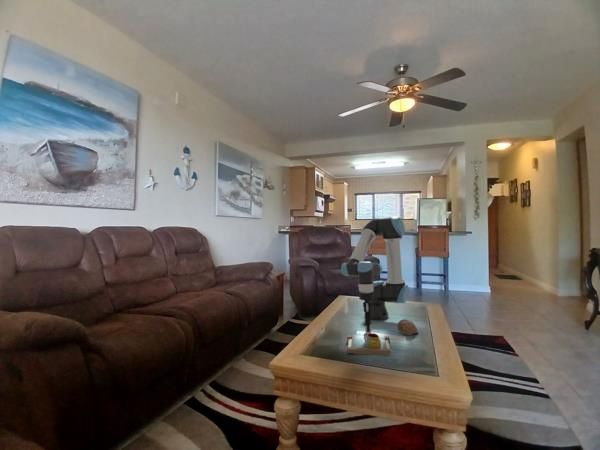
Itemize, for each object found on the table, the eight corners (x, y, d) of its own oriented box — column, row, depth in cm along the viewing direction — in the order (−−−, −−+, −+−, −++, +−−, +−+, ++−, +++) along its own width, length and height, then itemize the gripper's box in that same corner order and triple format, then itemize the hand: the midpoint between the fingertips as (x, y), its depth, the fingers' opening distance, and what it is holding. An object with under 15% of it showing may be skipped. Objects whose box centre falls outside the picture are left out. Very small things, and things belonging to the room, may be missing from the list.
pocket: (347, 341, 154) (347, 335, 154) (389, 343, 150) (389, 336, 150) (345, 353, 139) (345, 346, 139) (392, 355, 135) (392, 348, 135)
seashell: (422, 335, 157) (410, 318, 158) (407, 344, 158) (396, 327, 160) (417, 328, 168) (407, 313, 169) (403, 337, 169) (393, 321, 170)
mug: (384, 350, 141) (383, 336, 141) (370, 352, 139) (370, 338, 139) (371, 342, 152) (371, 329, 153) (359, 344, 151) (358, 330, 151)
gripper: (358, 289, 163) (361, 333, 162) (358, 294, 150) (361, 341, 150) (373, 289, 162) (375, 333, 161) (374, 294, 149) (376, 342, 148)
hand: (368, 337), depth 155 cm, fingers closed
